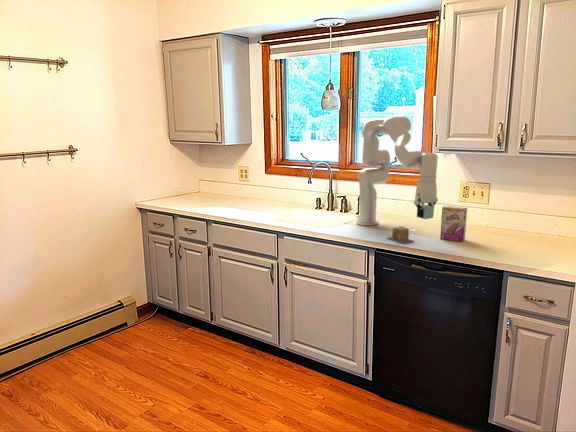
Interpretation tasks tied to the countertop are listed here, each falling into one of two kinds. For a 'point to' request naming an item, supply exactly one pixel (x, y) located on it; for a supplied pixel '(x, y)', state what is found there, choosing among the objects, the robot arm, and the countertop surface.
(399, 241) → the mat
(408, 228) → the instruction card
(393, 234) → the walnut block
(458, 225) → the candy bar box
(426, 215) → the teal block
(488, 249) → the countertop surface
